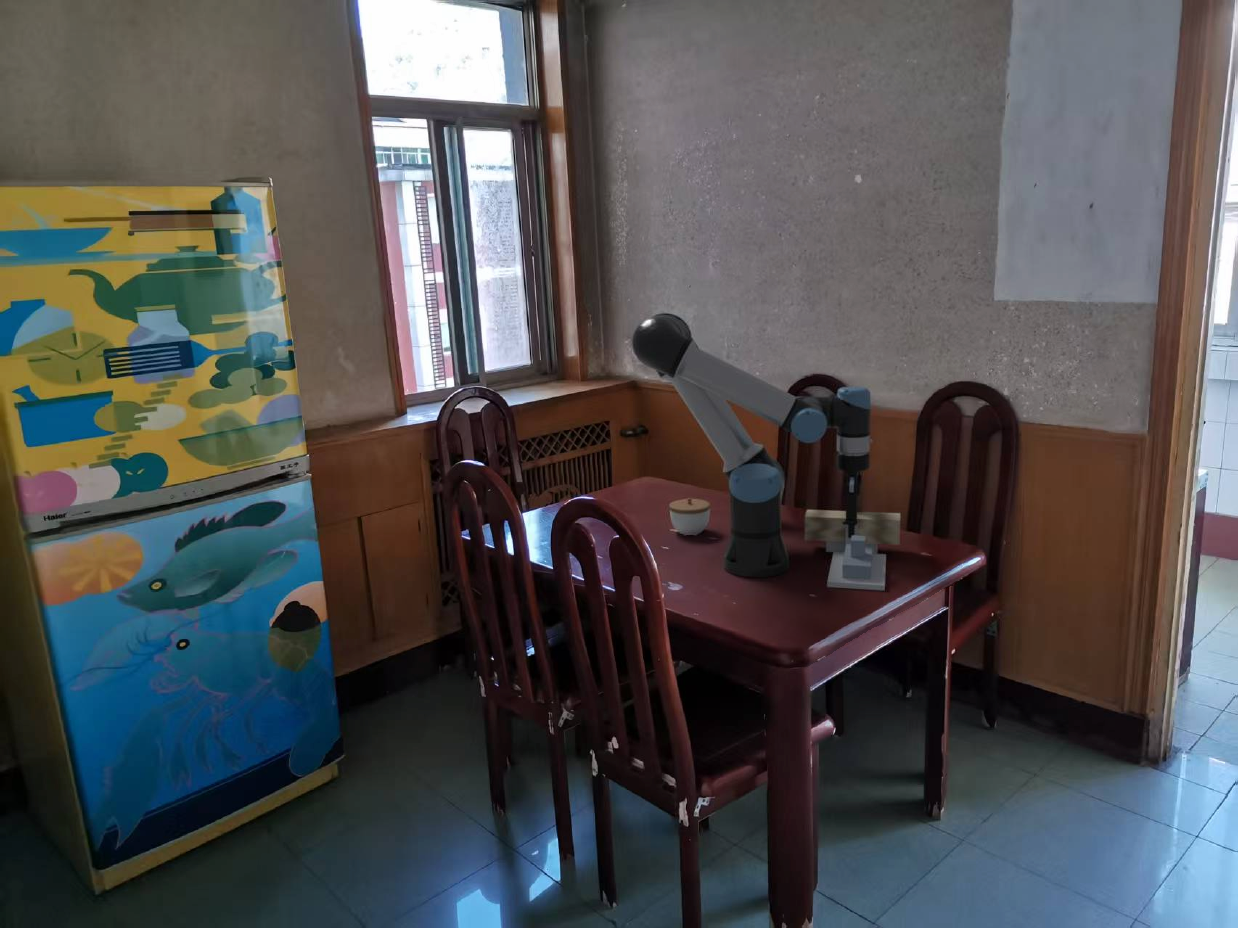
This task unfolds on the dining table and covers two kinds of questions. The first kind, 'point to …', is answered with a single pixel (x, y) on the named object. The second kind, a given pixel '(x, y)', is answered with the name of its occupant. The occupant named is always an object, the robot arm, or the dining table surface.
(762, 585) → the dining table surface
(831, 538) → the pine batten
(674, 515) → the lidded jar
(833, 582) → the fulcrum stand
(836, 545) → the slab
